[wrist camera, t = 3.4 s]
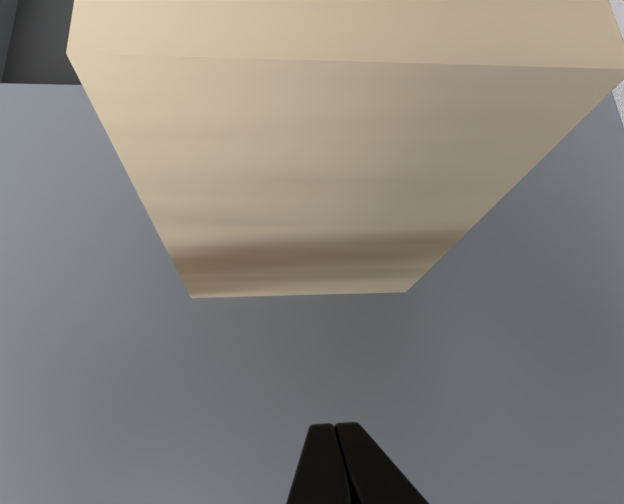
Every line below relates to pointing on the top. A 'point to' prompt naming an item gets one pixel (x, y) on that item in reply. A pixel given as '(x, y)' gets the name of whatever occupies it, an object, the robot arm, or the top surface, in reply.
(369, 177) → the maple block
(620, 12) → the top surface
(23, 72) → the board
